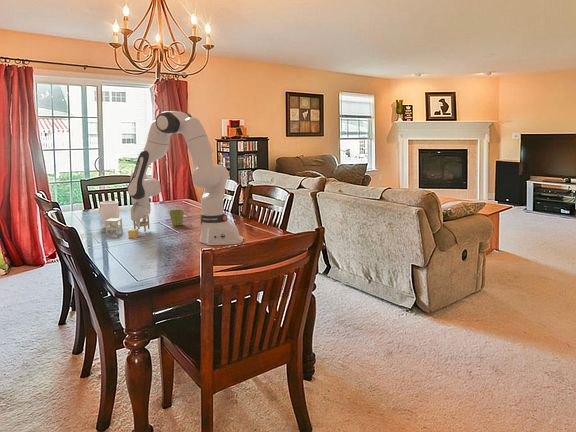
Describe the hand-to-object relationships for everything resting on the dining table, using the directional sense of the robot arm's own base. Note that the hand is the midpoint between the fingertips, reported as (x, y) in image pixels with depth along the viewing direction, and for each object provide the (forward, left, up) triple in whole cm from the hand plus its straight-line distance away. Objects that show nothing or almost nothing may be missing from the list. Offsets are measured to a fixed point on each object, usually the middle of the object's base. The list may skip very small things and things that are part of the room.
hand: (141, 225), depth 239 cm
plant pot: (-14, -20, -4) cm, 25 cm away
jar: (+24, -14, -4) cm, 28 cm away
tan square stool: (0, 0, -3) cm, 3 cm away
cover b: (+14, +4, -4) cm, 15 cm away
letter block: (+1, +10, -4) cm, 11 cm away
